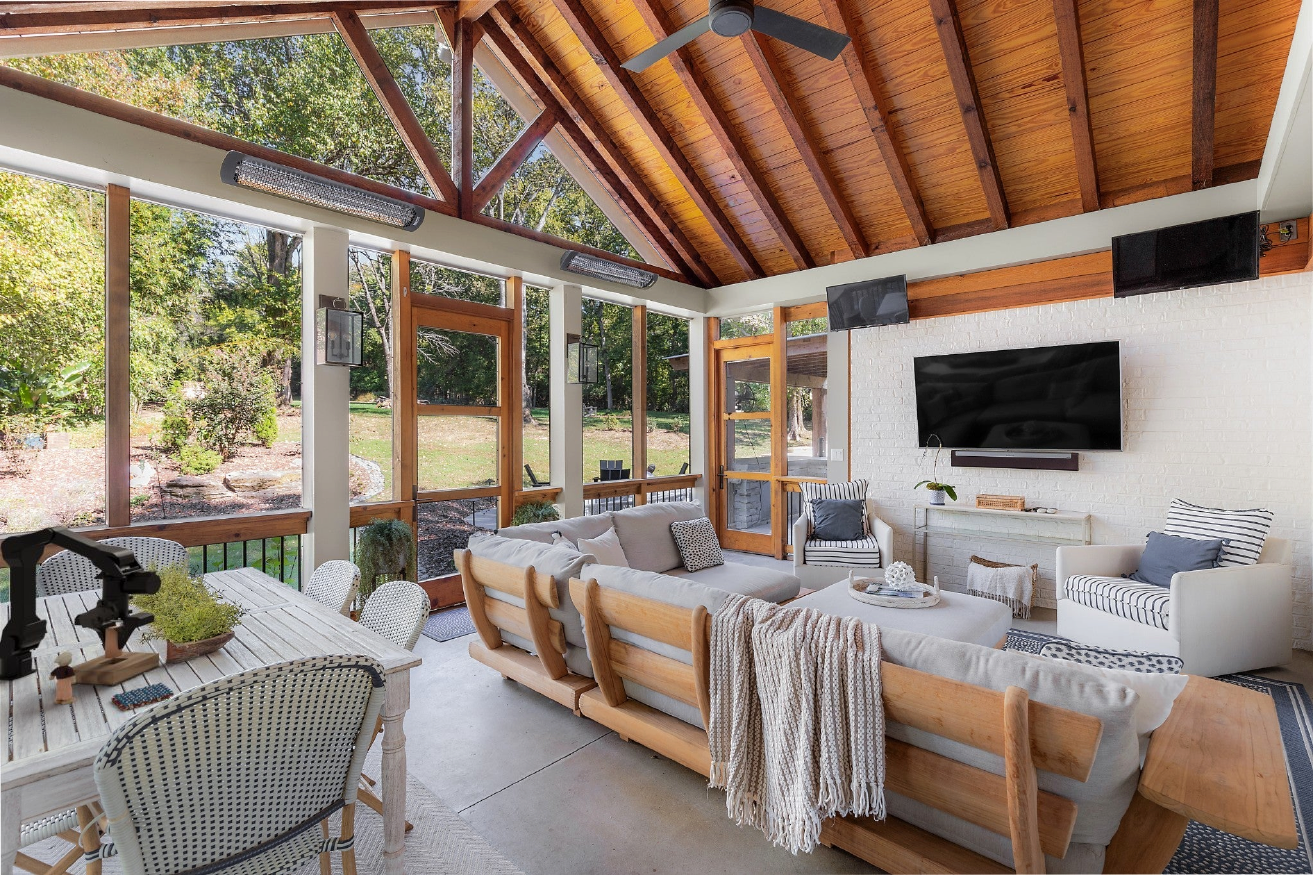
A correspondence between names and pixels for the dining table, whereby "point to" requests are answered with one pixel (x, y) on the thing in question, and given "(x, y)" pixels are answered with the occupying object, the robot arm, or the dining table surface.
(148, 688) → the woven mat
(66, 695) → the grandmother figurine
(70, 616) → the dining table surface
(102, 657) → the bore block
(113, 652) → the peg
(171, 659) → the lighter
